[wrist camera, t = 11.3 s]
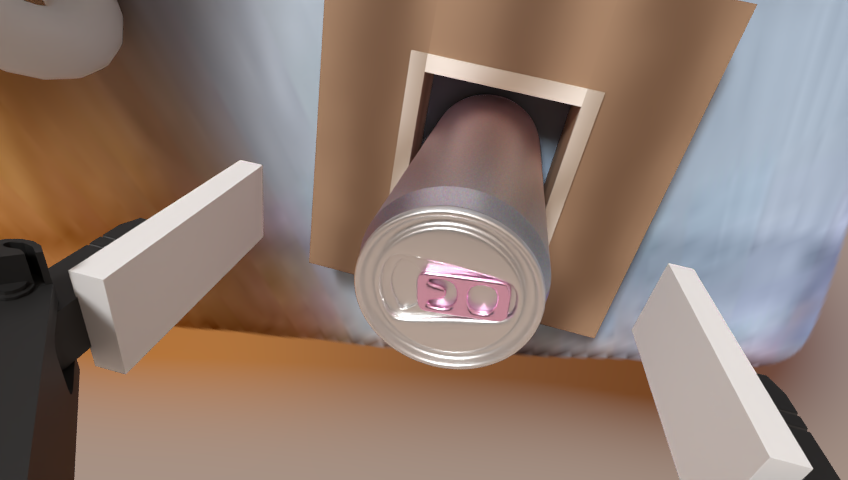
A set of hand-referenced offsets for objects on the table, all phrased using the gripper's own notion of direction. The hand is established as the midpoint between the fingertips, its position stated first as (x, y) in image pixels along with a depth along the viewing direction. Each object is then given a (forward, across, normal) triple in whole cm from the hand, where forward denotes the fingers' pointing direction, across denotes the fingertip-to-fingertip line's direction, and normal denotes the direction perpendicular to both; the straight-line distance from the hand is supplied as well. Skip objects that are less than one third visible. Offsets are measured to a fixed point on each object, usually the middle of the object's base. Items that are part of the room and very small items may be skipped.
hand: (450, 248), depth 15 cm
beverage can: (+13, 0, -1) cm, 13 cm away
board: (+13, 0, 0) cm, 13 cm away
